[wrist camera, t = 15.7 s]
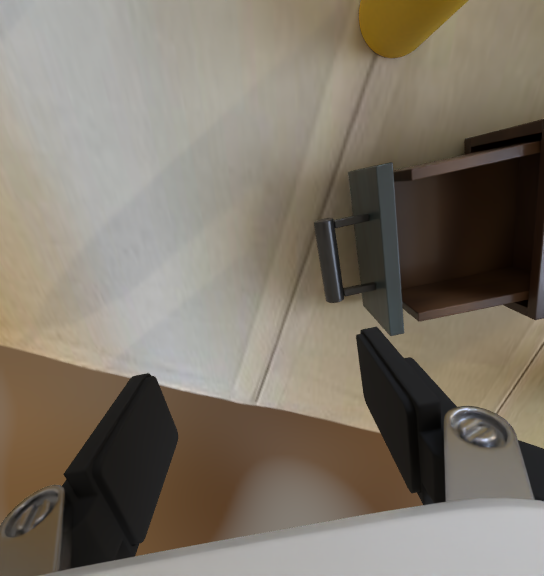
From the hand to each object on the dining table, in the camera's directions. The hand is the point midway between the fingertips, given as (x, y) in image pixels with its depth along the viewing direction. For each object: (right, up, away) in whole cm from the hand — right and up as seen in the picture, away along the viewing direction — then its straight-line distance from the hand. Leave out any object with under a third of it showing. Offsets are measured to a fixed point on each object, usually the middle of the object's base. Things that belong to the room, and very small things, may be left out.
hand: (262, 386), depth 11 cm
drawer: (+14, +9, +18) cm, 24 cm away
